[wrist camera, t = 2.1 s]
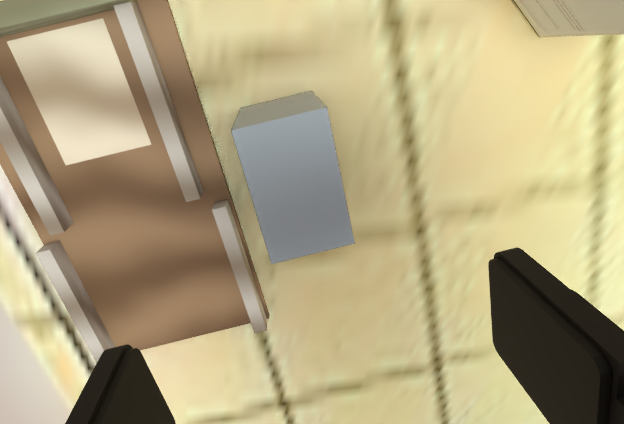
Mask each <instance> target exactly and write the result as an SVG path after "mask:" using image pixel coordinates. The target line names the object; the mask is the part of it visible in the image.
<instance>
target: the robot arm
mask: <svg viewBox="0 0 624 424" xmlns="http://www.w3.org/2000/svg"><path fill="white" fill-rule="evenodd" d="M489 282H490V299H491V317H492V335H493V343H494V346H495V349H496V351H497V353H498V354H499V356H500V357H501V358H502V360H503V361H504V362H505V364H506V365H507V366H508V368H509V369H510V370H511V372H512V373H513V374H514V376H515V377H516V379H517V380H518V381H519V383H520V384H521V385H522V387H523V388H524V389H525V391H526V392H527V393H528V395H529V396H530V398H531V399H532V400H533V402H534V403H535V404H536V406H537V407H538V408H539V410H540V411H541V412H542V414H543V415H544V417H545V418H546V419H547V421H548V422H549V423H550V424H624V331H623V330H622V329H621V328H620V327H618V326H617V325H616V324H615V323H613V322H612V321H611V320H610V319H609V318H607V317H606V316H605V315H604V314H602V313H601V312H600V311H599V310H598V309H596V308H595V307H594V306H593V305H591V304H590V303H589V302H588V301H586V300H585V299H584V298H583V297H582V296H580V295H579V294H578V293H576V292H575V291H573V290H570V289H569V288H568V287H567V286H565V285H564V284H563V283H562V282H561V281H559V280H558V279H557V278H556V277H555V276H553V275H552V274H551V273H550V272H548V271H547V270H546V269H545V268H544V267H542V266H541V265H540V264H539V263H538V262H536V261H535V260H534V259H533V258H531V257H530V256H529V255H528V254H527V253H525V252H524V251H523V250H522V249H520V248H513V249H509V250H505V251H501V252H497V253H496V254H495V255H494V259H492V260H490V261H489ZM65 424H175V420H174V417H173V415H172V413H171V411H170V409H169V407H168V405H167V403H166V401H165V399H164V397H163V396H162V394H161V392H160V390H159V388H158V386H157V384H156V382H155V380H154V378H153V376H152V374H151V372H150V370H149V368H148V366H147V364H146V362H145V360H144V358H143V356H142V354H141V352H140V350H139V349H138V348H134V349H133V348H132V346H130V345H128V344H126V345H122V346H118V347H114V348H110V349H106V350H104V351H103V353H102V354H101V356H100V358H99V360H98V362H97V364H96V366H95V368H94V370H93V372H92V373H91V375H90V377H89V379H88V381H87V383H86V385H85V387H84V389H83V391H82V393H81V395H80V396H79V398H78V400H77V402H76V404H75V406H74V408H73V410H72V412H71V414H70V416H69V418H68V420H67V422H66V423H65Z"/></svg>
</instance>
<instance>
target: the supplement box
mask: <svg viewBox="0 0 624 424" xmlns="http://www.w3.org/2000/svg"><path fill="white" fill-rule="evenodd" d="M514 1H515V3H516V4H517V6H518V7H519V8H520V10H521V11H522V13H523V14H524V15H525V17H526V18H527V19H528V21H529V22H530V24H531V25H532V26H533V28H534V29H535V31H536V32H537V33H538V35H539V36H540V37H554V36H582V35H613V34H624V0H514Z"/></svg>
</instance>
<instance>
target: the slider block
mask: <svg viewBox="0 0 624 424" xmlns="http://www.w3.org/2000/svg"><path fill="white" fill-rule="evenodd" d="M231 132H232V135H233V138H234V141H235V145H236V148H237V151H238V155H239V158H240V161H241V165H242V168H243V171H244V175H245V178H246V181H247V185H248V188H249V191H250V194H251V198H252V201H253V204H254V208H255V211H256V214H257V218H258V221H259V224H260V228H261V231H262V234H263V238H264V241H265V244H266V248H267V251H268V254H269V257H270V261H271V264H274V263H278V262H282V261H286V260H290V259H294V258H298V257H302V256H306V255H310V254H314V253H318V252H322V251H327V250H331V249H335V248H339V247H343V246H347V245H351V244H355V242H354V237H353V232H352V228H351V223H350V218H349V213H348V208H347V203H346V198H345V193H344V188H343V184H342V179H341V174H340V169H339V164H338V159H337V154H336V149H335V144H334V140H333V135H332V130H331V125H330V120H329V115H328V110H327V107H326V106H325V105H324V104H323V102H322V101H321V100H320V99H319V98H318V97H317V96H316V95H315V94H314V93H313V92H312V91H308V92H304V93H300V94H296V95H292V96H288V97H284V98H279V99H275V100H271V101H267V102H263V103H259V104H255V105H251V106H247V107H242V108H241V109H240V111H239V113H238V116H237V118H236V120H235V123H234V125H233V128H232V130H231Z"/></svg>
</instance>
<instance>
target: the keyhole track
mask: <svg viewBox="0 0 624 424" xmlns="http://www.w3.org/2000/svg"><path fill="white" fill-rule="evenodd" d="M0 165H1V166H2V168H3V170H4V172H5V174H6V176H7V178H8V179H9V181H10V183H11V185H12V187H13V189H14V190H15V192H16V194H17V196H18V198H19V200H20V202H21V203H22V205H23V207H24V209H25V211H26V213H27V214H28V216H29V218H30V220H31V222H32V224H33V225H34V227H35V229H36V231H37V233H38V235H39V237H40V238H41V240H42V242H43V244H44V246H43V247H42V248H41V249H40V250H39V251H38V252H36V255H37V256H38V258H39V260H40V262H41V264H42V265H43V267H44V269H45V271H46V273H47V274H48V276H49V278H50V280H51V282H52V283H53V285H54V287H55V289H56V291H57V292H58V294H59V296H60V298H61V300H62V301H63V303H64V305H65V307H66V309H67V310H68V312H69V314H70V316H71V318H72V319H73V321H74V323H75V325H76V327H77V328H78V330H79V332H80V334H81V336H82V337H83V339H84V341H85V343H86V345H87V346H88V348H89V350H90V352H91V354H92V355H93V357H94V359H95V361H96V363H97V362H98V360H99V358H100V356H101V354H102V353H103V351H104V350H106V349H110V348H114V347H118V346H122V345H126V344H128V345H130V346H132V348H133V349H134V348H138V349H139V350H143V349H147V348H151V347H155V346H159V345H163V344H167V343H171V342H175V341H179V340H183V339H188V338H192V337H196V336H200V335H204V334H208V333H212V332H216V331H220V330H224V329H228V328H232V327H236V326H240V325H244V324H248V323H251V324H252V327H253V330H254V333H258V332H262V331H267V319H269V313H268V310H267V307H266V304H265V301H264V298H263V295H262V291H261V288H260V285H259V282H258V279H257V276H256V273H255V270H254V267H253V264H252V260H251V257H250V254H249V251H248V248H247V245H246V242H245V239H244V236H243V233H242V229H241V226H240V223H239V220H238V217H237V214H236V211H235V208H234V205H233V202H232V198H231V195H230V192H229V189H228V186H227V183H226V180H225V177H224V174H223V171H222V167H221V164H220V161H219V158H218V155H217V152H216V149H215V146H214V143H213V140H212V136H211V133H210V130H209V127H208V124H207V121H206V118H205V115H204V112H203V109H202V105H201V102H200V99H199V96H198V93H197V90H196V87H195V84H194V81H193V78H192V74H191V71H190V68H189V65H188V62H187V59H186V56H185V53H184V50H183V47H182V43H181V40H180V37H179V34H178V31H177V28H176V25H175V22H174V19H173V16H172V12H171V9H170V6H169V3H168V0H3V1H0Z"/></svg>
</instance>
